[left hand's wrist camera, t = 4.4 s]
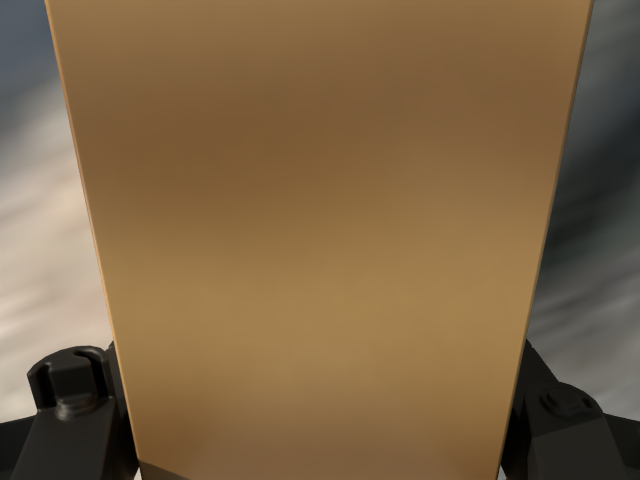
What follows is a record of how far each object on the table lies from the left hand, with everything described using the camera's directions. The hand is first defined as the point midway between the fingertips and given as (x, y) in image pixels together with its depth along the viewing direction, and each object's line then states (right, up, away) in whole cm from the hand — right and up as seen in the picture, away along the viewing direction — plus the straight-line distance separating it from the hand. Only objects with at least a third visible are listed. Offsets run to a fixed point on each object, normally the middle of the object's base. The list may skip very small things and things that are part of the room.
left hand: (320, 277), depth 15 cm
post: (0, +25, -9) cm, 27 cm away
